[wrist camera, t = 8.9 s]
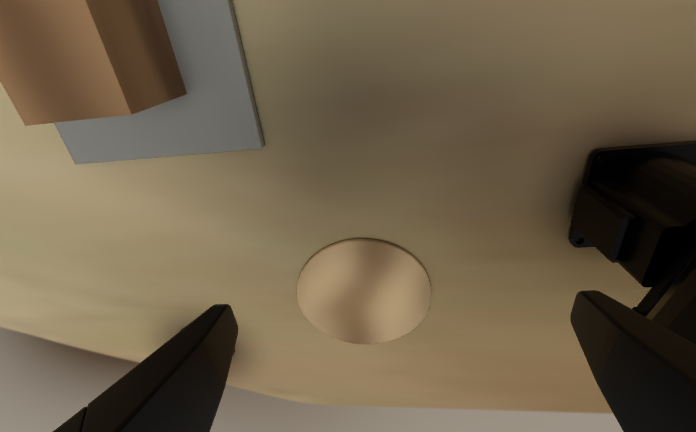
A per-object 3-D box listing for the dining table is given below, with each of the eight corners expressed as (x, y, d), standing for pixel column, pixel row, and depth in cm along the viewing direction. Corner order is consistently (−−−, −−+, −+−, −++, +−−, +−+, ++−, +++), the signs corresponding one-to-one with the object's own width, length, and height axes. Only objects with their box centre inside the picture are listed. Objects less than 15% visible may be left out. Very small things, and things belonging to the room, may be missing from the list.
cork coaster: (431, 234, 23) (432, 237, 23) (429, 338, 28) (430, 342, 27) (286, 242, 24) (285, 245, 24) (308, 341, 29) (308, 345, 28)
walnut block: (152, -15, 16) (73, -30, 12) (187, 94, 19) (131, 114, 14) (57, -2, 17) (-51, -11, 12) (103, 103, 19) (25, 125, 15)
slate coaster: (203, -124, 15) (197, -129, 14) (264, 145, 21) (261, 148, 20) (-40, -82, 16) (-54, -86, 15) (82, 161, 22) (75, 164, 21)
